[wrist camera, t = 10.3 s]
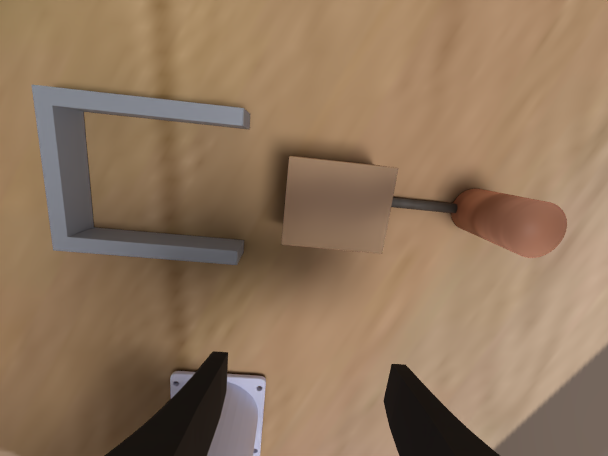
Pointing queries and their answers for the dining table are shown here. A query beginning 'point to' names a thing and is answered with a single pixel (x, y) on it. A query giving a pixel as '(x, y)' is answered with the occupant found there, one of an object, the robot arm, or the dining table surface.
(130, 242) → the grey u-shaped bracket
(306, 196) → the tethered block
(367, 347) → the dining table surface
